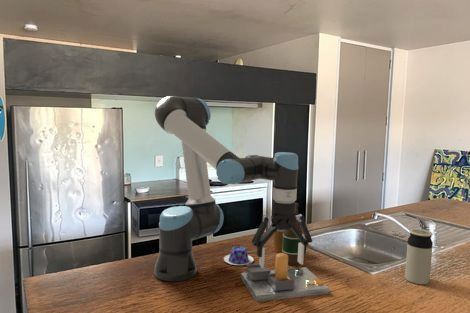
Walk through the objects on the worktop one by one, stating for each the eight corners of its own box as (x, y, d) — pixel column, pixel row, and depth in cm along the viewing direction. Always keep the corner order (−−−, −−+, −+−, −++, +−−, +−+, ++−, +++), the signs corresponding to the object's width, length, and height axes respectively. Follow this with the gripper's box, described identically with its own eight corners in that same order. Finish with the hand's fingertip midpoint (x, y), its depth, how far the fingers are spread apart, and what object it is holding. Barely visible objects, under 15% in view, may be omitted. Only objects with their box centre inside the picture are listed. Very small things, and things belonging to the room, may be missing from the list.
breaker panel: (256, 301, 115) (256, 292, 114) (240, 278, 131) (241, 270, 131) (328, 293, 121) (328, 284, 121) (305, 272, 138) (305, 264, 137)
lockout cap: (273, 276, 122) (274, 253, 122) (284, 275, 123) (285, 252, 123) (277, 282, 119) (278, 258, 118) (289, 281, 120) (290, 257, 119)
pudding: (224, 267, 141) (224, 253, 141) (223, 255, 153) (223, 243, 153) (255, 267, 142) (255, 253, 141) (252, 255, 154) (252, 243, 153)
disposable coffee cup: (292, 247, 163) (293, 221, 162) (293, 255, 154) (295, 227, 153) (270, 246, 164) (272, 220, 163) (270, 254, 155) (272, 226, 154)
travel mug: (419, 286, 128) (423, 236, 126) (399, 277, 135) (403, 229, 133) (434, 282, 132) (438, 233, 130) (414, 274, 139) (418, 227, 137)
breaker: (252, 280, 124) (252, 272, 124) (246, 272, 130) (246, 264, 130) (270, 278, 126) (270, 270, 126) (263, 271, 132) (264, 263, 132)
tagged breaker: (275, 290, 117) (275, 281, 117) (268, 281, 124) (268, 273, 123) (293, 288, 119) (294, 280, 119) (285, 280, 125) (286, 271, 125)
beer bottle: (302, 259, 150) (305, 201, 147) (299, 267, 142) (302, 206, 140) (283, 257, 152) (286, 199, 150) (279, 263, 145) (282, 203, 142)
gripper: (250, 204, 111) (248, 272, 114) (325, 202, 118) (321, 266, 120) (243, 199, 119) (241, 262, 121) (314, 197, 125) (310, 257, 128)
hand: (281, 264), depth 121 cm, fingers open, 13 cm apart
